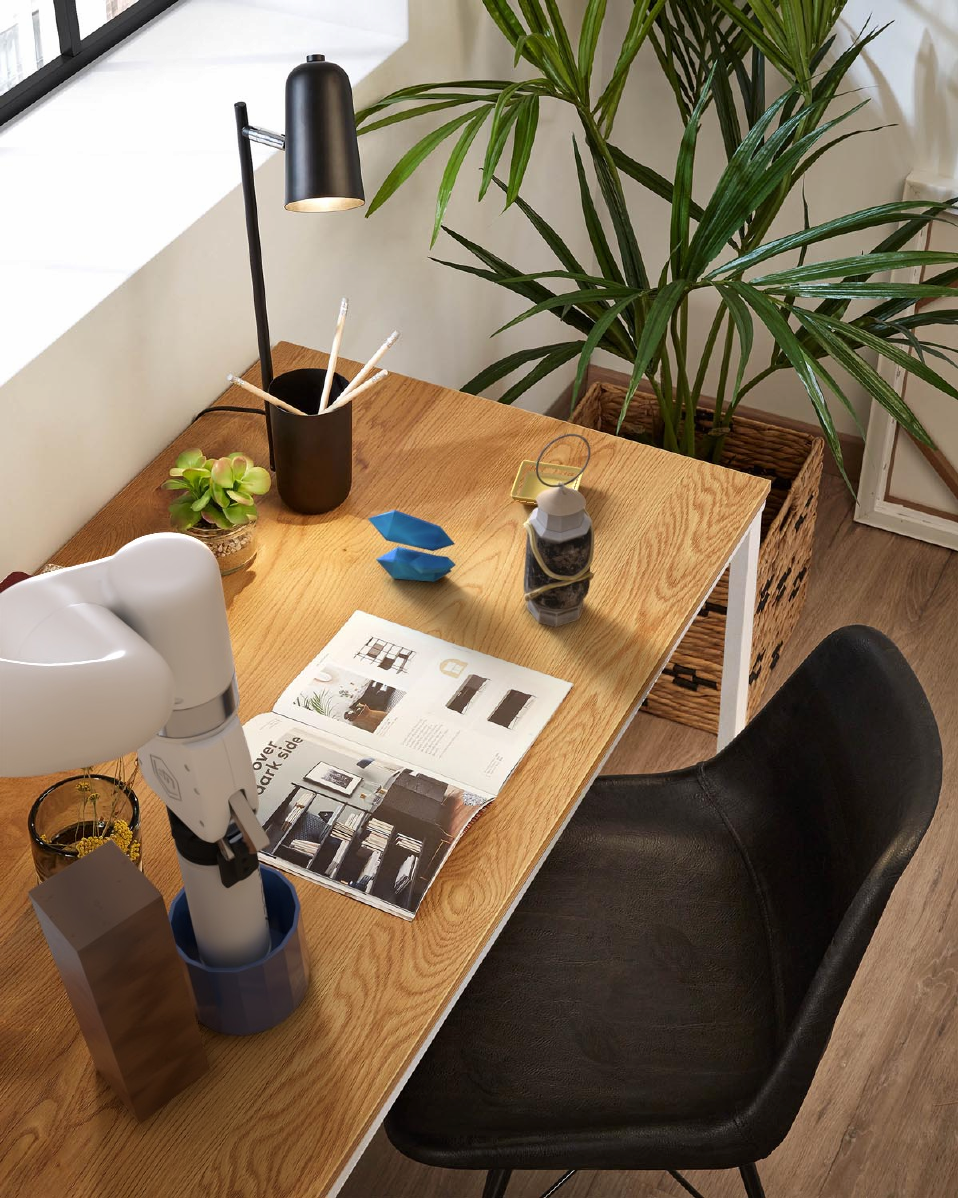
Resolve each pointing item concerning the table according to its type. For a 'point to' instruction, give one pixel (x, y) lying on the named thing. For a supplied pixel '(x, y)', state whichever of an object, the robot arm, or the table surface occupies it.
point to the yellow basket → (535, 487)
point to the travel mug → (221, 903)
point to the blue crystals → (417, 535)
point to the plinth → (122, 977)
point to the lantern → (558, 552)
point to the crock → (248, 966)
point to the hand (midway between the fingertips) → (215, 849)
